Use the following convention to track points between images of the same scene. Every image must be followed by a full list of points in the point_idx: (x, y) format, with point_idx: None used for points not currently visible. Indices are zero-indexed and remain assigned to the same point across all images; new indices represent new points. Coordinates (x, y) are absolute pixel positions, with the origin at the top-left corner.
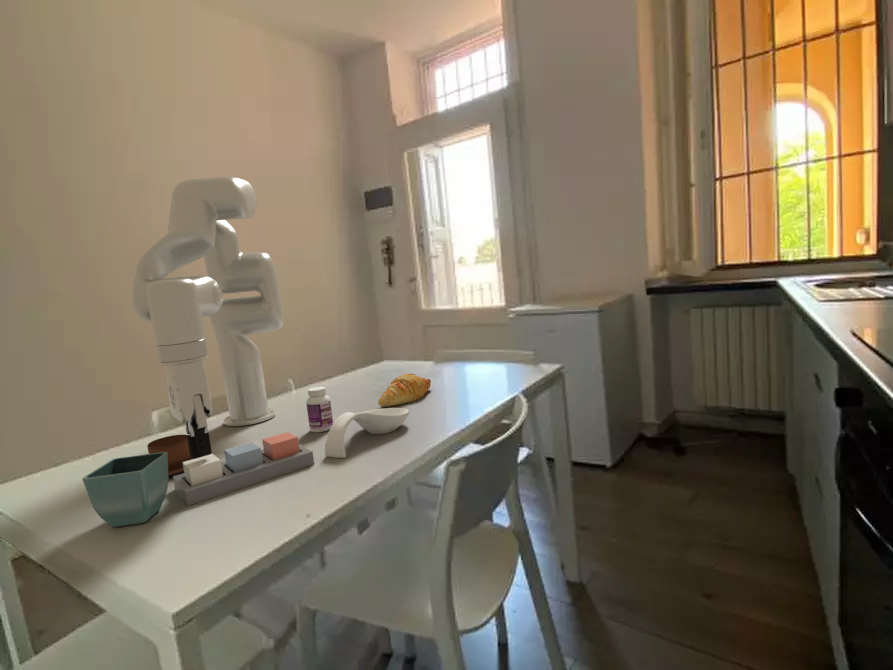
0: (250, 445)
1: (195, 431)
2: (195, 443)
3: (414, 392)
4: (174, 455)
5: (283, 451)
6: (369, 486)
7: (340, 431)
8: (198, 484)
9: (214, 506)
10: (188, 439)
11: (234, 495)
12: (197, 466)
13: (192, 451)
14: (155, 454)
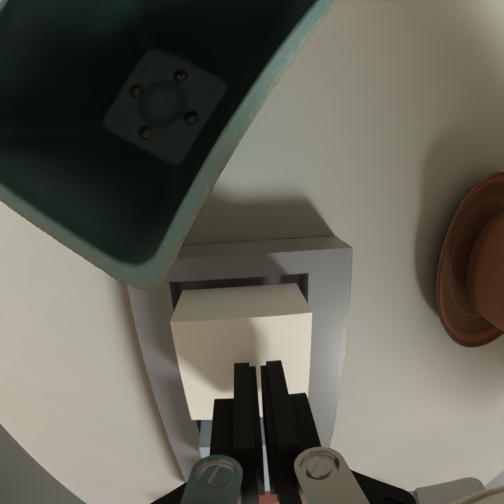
0: (268, 485)
1: (159, 498)
2: (219, 433)
3: None
4: (490, 282)
5: None
6: (46, 470)
7: None
8: (166, 310)
9: (86, 304)
10: (250, 433)
11: (127, 359)
12: (179, 352)
13: (234, 388)
14: (178, 209)
